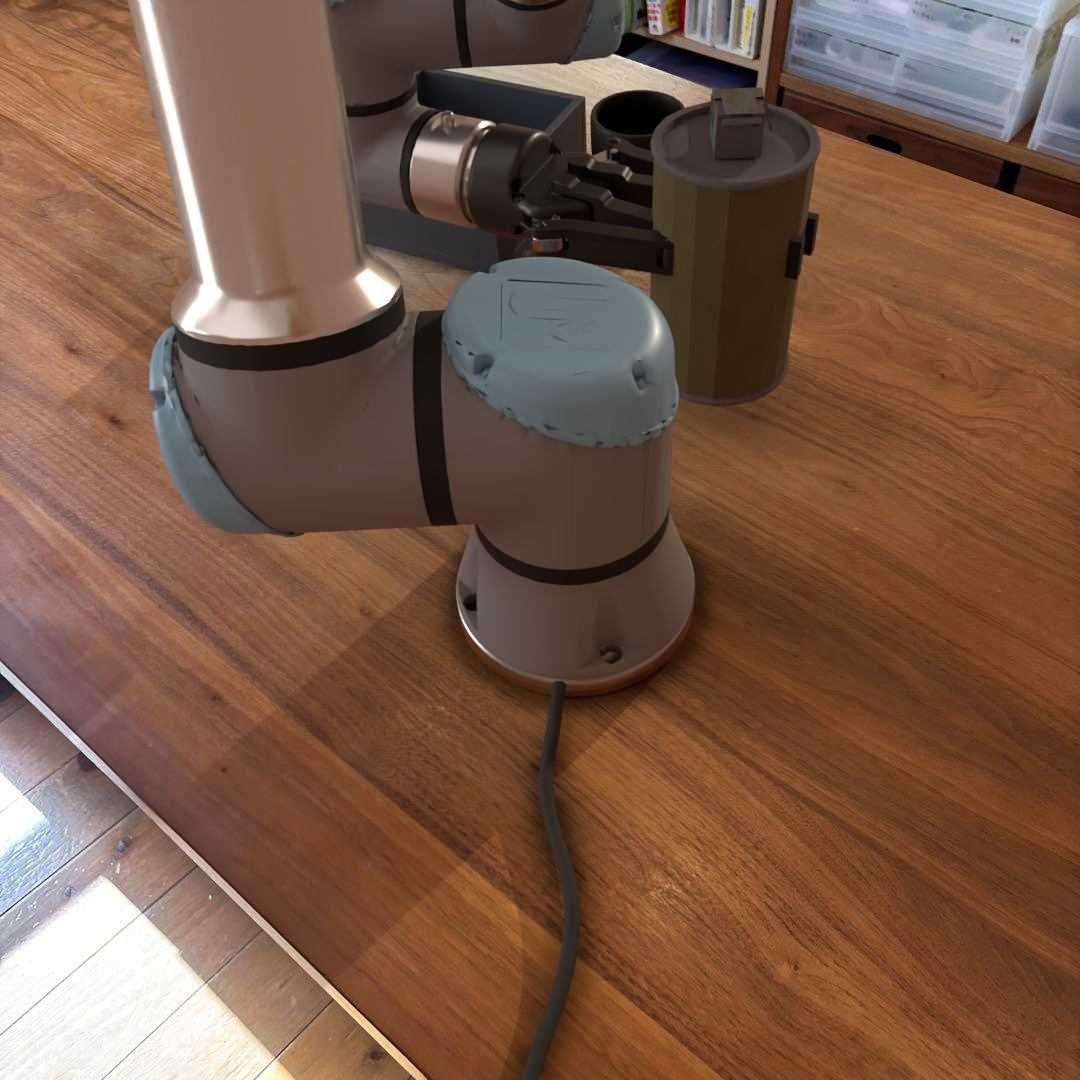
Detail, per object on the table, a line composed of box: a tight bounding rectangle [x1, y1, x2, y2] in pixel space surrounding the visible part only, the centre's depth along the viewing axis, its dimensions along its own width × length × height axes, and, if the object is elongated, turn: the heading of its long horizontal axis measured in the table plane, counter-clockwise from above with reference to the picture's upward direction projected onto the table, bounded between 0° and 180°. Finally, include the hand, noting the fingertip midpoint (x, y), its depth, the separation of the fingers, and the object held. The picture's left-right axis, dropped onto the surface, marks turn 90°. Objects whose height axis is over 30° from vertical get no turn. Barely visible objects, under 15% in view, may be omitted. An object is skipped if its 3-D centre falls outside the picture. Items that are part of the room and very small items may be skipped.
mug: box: [589, 89, 686, 156], centre depth 97 cm, size 8×12×10 cm
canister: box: [649, 86, 822, 407], centre depth 74 cm, size 11×10×20 cm
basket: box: [360, 69, 588, 274], centre depth 101 cm, size 18×18×8 cm
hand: (807, 246), depth 71 cm, fingers closed on canister, 2 cm apart
